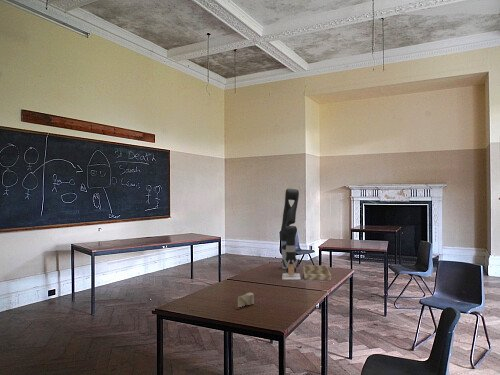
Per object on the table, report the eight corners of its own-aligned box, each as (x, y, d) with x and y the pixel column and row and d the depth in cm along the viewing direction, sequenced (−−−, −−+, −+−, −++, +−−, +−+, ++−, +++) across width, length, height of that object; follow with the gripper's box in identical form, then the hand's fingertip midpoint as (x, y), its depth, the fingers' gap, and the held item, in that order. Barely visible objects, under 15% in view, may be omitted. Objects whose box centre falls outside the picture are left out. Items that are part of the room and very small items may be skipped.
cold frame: (304, 279, 279) (304, 270, 279) (303, 274, 299) (303, 265, 299) (331, 279, 277) (331, 270, 277) (328, 274, 297) (328, 265, 297)
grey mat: (282, 279, 281) (282, 278, 281) (282, 274, 301) (282, 273, 301) (300, 279, 279) (300, 278, 279) (299, 274, 299) (299, 273, 299)
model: (253, 305, 217) (253, 292, 218) (242, 309, 209) (242, 296, 209) (249, 304, 220) (249, 291, 220) (238, 308, 211) (237, 295, 211)
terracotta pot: (287, 274, 287) (287, 264, 287) (287, 273, 293) (287, 263, 293) (295, 274, 287) (295, 264, 287) (294, 273, 293) (294, 263, 293)
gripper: (299, 250, 293) (300, 271, 293) (281, 250, 295) (282, 271, 295) (300, 251, 286) (300, 273, 286) (281, 251, 287) (282, 273, 287)
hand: (291, 272), depth 290 cm, fingers closed on terracotta pot, 5 cm apart
